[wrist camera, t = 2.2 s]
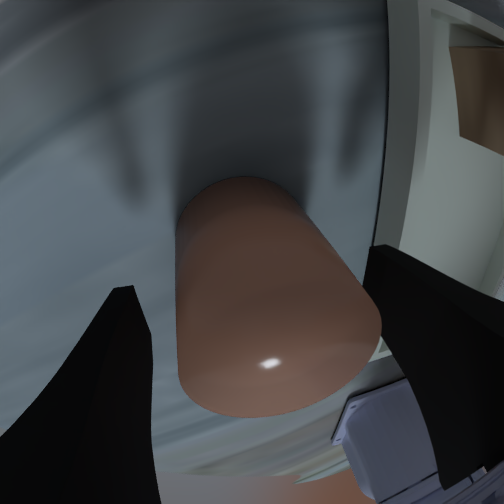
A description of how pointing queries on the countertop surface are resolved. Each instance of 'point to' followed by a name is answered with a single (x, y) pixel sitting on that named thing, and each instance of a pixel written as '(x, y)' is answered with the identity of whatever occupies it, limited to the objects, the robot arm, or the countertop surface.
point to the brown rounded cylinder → (264, 304)
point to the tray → (438, 152)
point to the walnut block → (480, 94)
